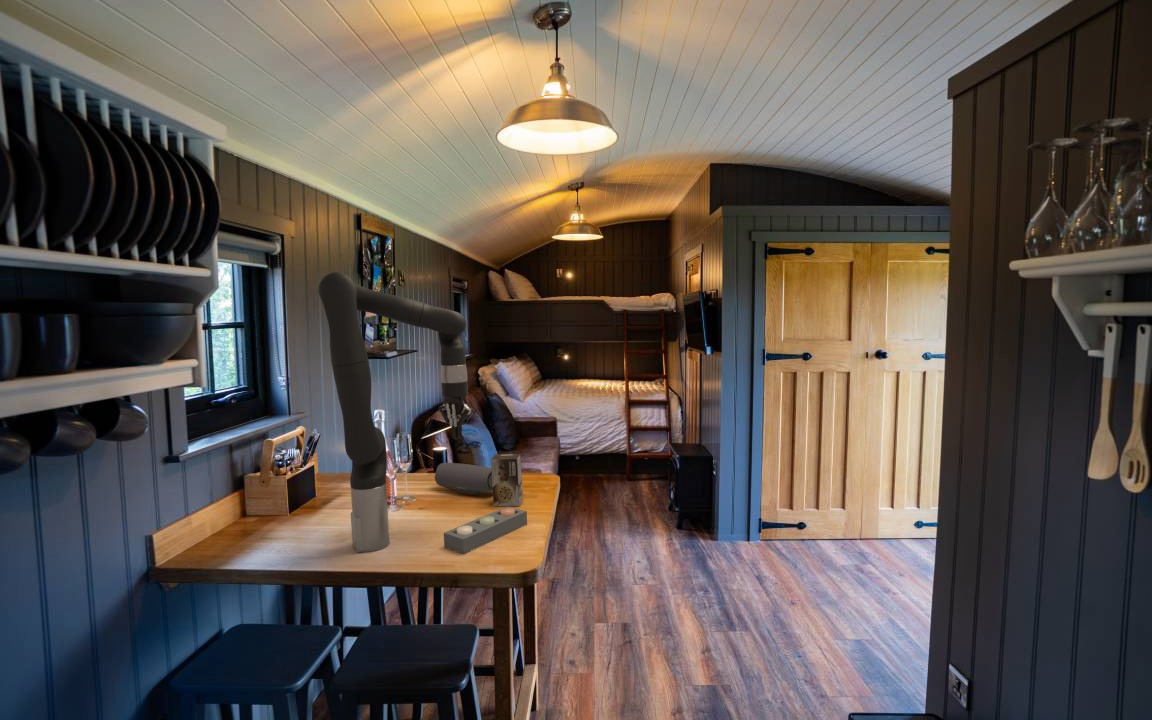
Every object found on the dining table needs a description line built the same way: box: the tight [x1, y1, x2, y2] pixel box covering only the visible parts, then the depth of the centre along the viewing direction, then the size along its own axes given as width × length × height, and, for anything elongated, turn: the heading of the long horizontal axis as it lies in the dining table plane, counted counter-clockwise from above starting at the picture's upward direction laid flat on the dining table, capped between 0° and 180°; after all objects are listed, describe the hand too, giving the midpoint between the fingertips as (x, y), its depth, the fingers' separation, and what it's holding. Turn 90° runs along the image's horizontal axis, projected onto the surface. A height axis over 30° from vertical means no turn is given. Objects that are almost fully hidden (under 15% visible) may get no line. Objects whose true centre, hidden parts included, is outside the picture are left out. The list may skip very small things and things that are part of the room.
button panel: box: [443, 506, 528, 554], centre depth 162 cm, size 25×8×4 cm, turn 143°
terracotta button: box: [500, 507, 515, 517], centre depth 169 cm, size 4×4×3 cm
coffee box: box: [490, 453, 524, 507], centre depth 189 cm, size 9×6×16 cm
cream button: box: [456, 525, 472, 536], centre depth 155 cm, size 4×4×3 cm
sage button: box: [479, 516, 495, 526], centre depth 162 cm, size 4×4×3 cm
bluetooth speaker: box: [434, 462, 493, 495], centre depth 202 cm, size 23×9×10 cm, turn 64°
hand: (457, 438), depth 166 cm, fingers closed
